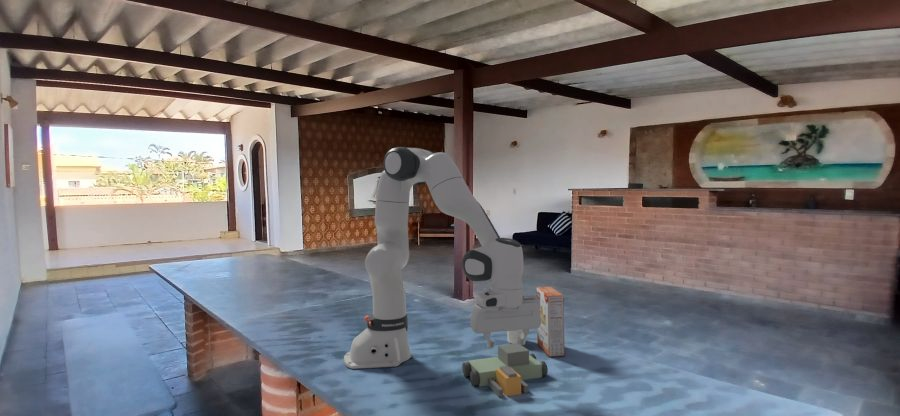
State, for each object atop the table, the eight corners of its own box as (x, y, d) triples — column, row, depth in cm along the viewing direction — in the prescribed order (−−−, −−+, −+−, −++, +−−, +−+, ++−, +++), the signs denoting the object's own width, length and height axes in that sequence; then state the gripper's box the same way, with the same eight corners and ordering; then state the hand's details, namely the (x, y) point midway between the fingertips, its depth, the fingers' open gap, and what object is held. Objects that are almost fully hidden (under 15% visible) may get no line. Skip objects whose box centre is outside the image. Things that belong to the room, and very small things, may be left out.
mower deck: (484, 399, 124) (484, 370, 124) (462, 373, 142) (461, 347, 142) (560, 387, 131) (560, 359, 131) (530, 364, 149) (530, 339, 148)
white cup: (527, 345, 166) (527, 318, 166) (505, 344, 168) (504, 317, 167) (528, 338, 174) (527, 312, 174) (506, 337, 176) (506, 311, 175)
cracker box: (536, 343, 168) (535, 286, 167) (552, 342, 169) (552, 286, 168) (547, 357, 154) (547, 295, 153) (565, 356, 155) (564, 294, 154)
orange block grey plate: (506, 396, 126) (506, 375, 126) (496, 386, 133) (495, 366, 133) (521, 394, 127) (521, 373, 127) (510, 384, 134) (510, 364, 134)
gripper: (535, 292, 135) (534, 339, 136) (468, 296, 129) (468, 345, 130) (545, 297, 129) (544, 346, 130) (476, 301, 123) (475, 352, 124)
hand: (505, 345), depth 130 cm, fingers open, 8 cm apart
